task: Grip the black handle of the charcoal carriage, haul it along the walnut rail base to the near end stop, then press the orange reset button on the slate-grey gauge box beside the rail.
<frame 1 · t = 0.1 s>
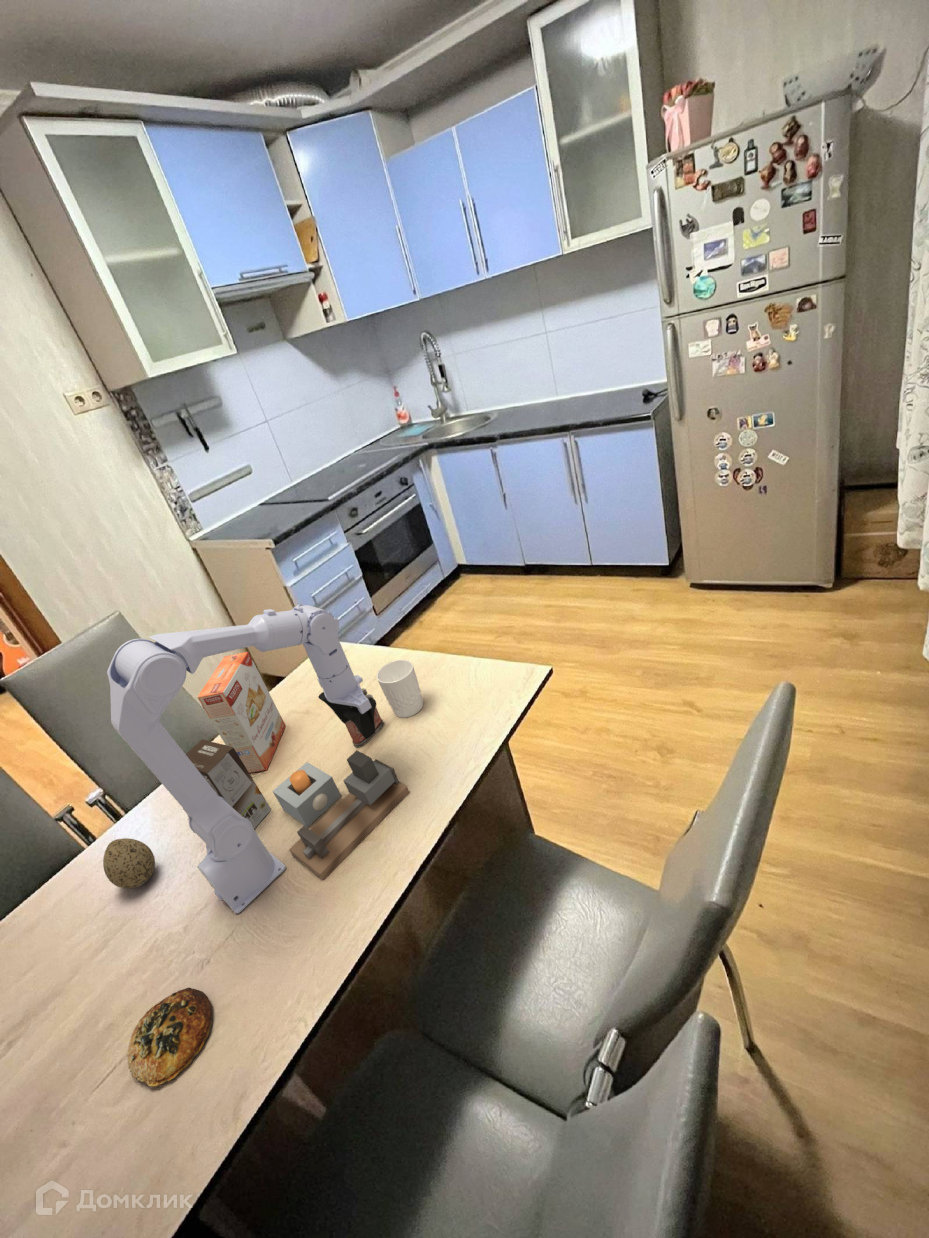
hand: (358, 727, 105), 10 cm above the table, tool pointing down, fingers open, 7 cm apart
coffee box: (245, 817, 107), on the table
bread roll: (174, 1039, 75), on the table
decorative egg: (143, 880, 100), on the table
rail: (352, 822, 99), on the table
carriage: (365, 772, 99), point 6 cm above the table, slide at 0.0 cm
white cup: (408, 708, 123), on the table
lighter: (369, 734, 119), on the table
gauge box: (312, 802, 106), on the table
cracker box: (266, 749, 123), on the table
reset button: (302, 784, 103), point 5 cm above the table, slide at 0.0 cm
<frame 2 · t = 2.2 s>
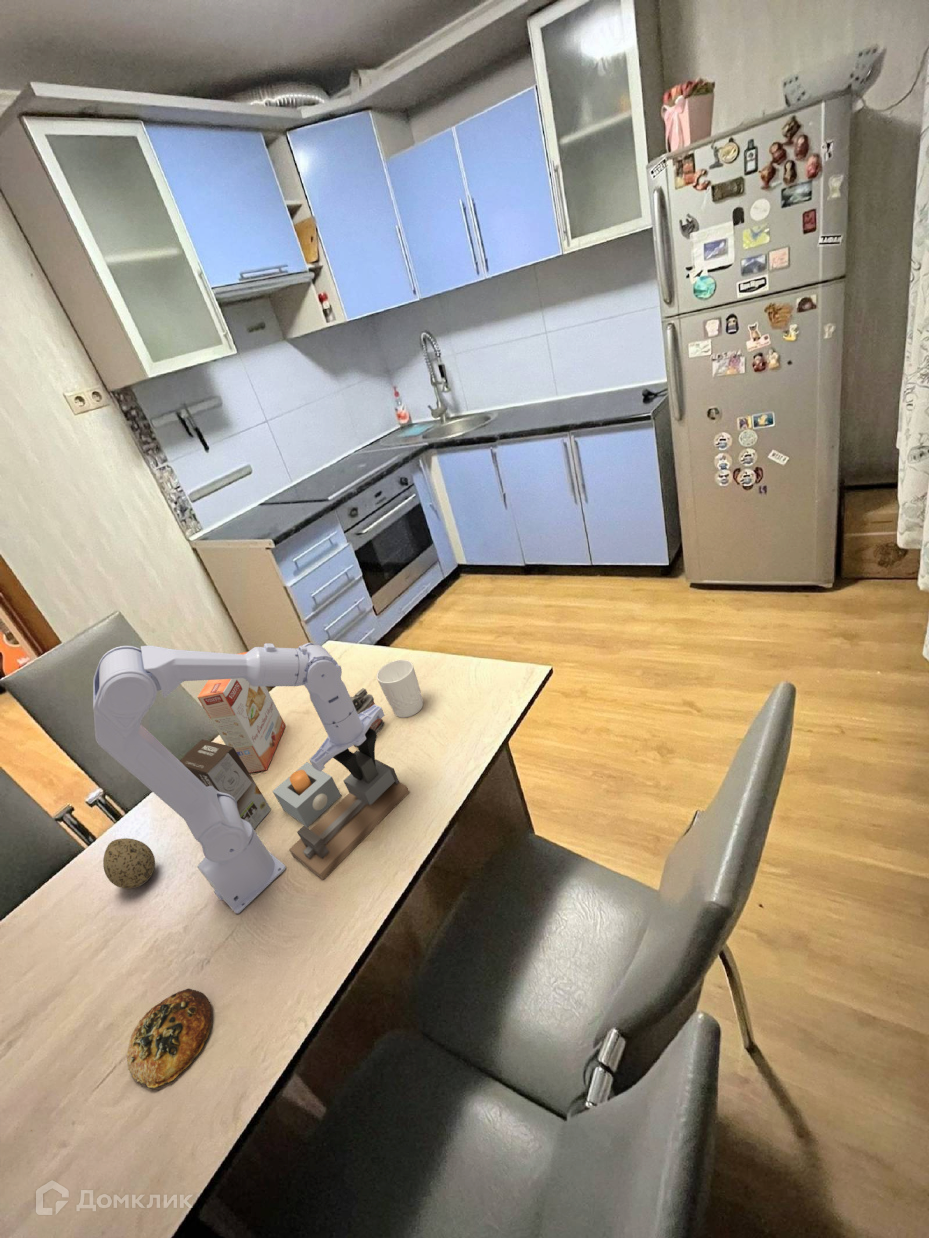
hand: (364, 771, 99), 7 cm above the table, tool pointing down, fingers closed on carriage, 2 cm apart
carriage: (365, 772, 99), point 6 cm above the table, slide at 0.0 cm, touching gripper
everything else where it was.
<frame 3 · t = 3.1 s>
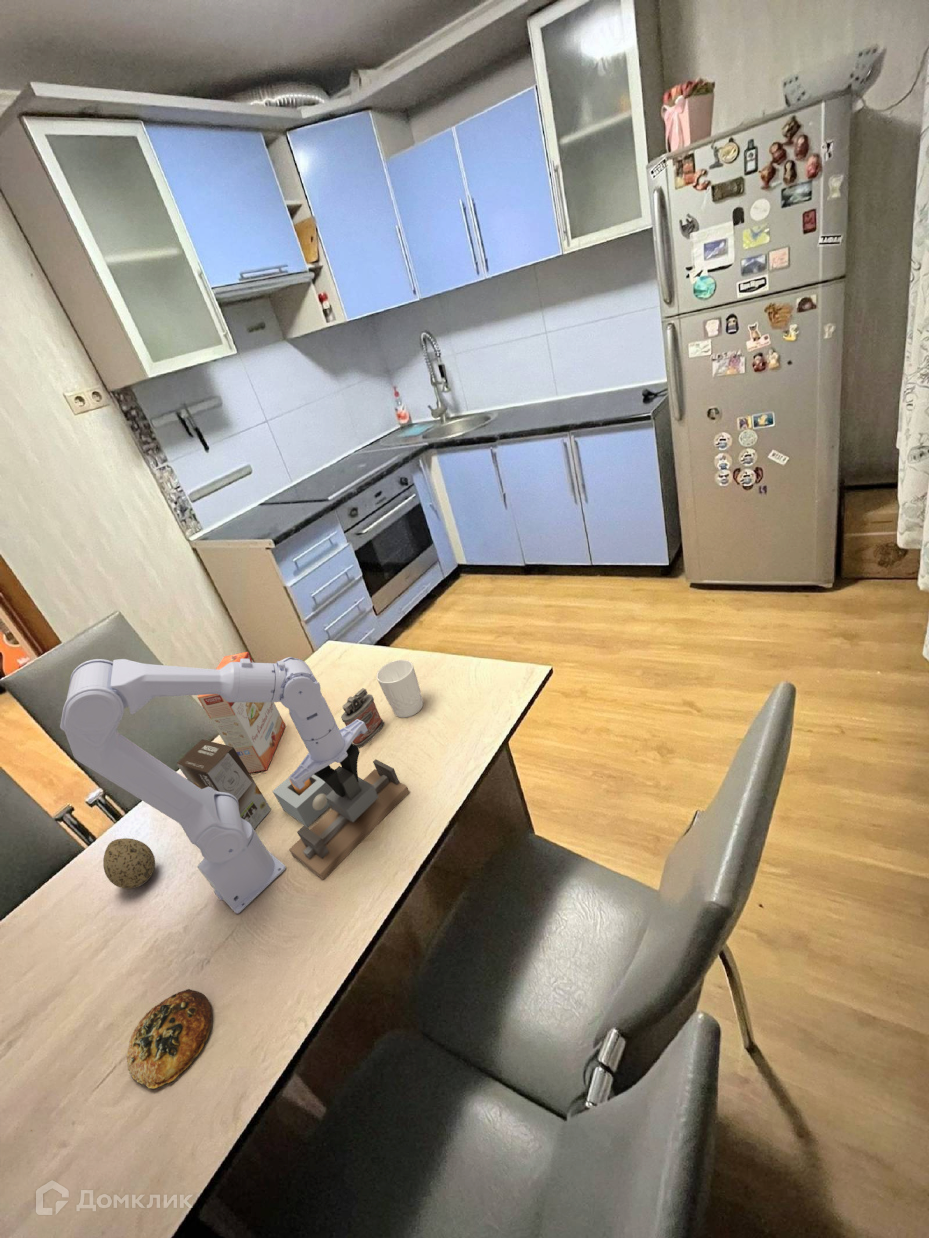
hand: (347, 787, 97), 7 cm above the table, tool pointing down, fingers closed on carriage, 2 cm apart
carriage: (348, 789, 97), point 6 cm above the table, slide at 4.1 cm, touching gripper
everything else where it was.
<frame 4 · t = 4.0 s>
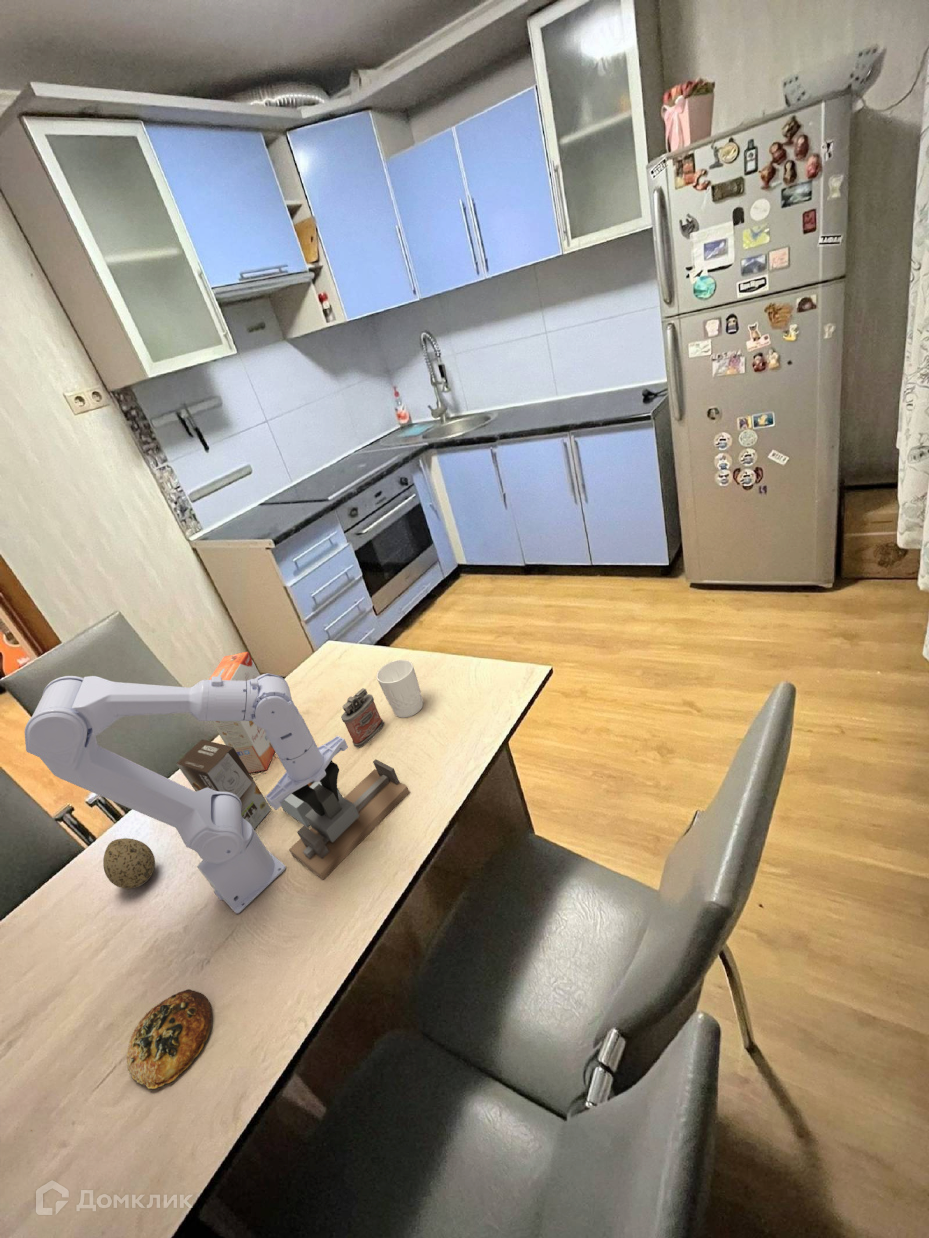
hand: (327, 806, 94), 7 cm above the table, tool pointing down, fingers closed on carriage, 2 cm apart
carriage: (328, 807, 94), point 6 cm above the table, slide at 8.5 cm, touching gripper
everything else where it was.
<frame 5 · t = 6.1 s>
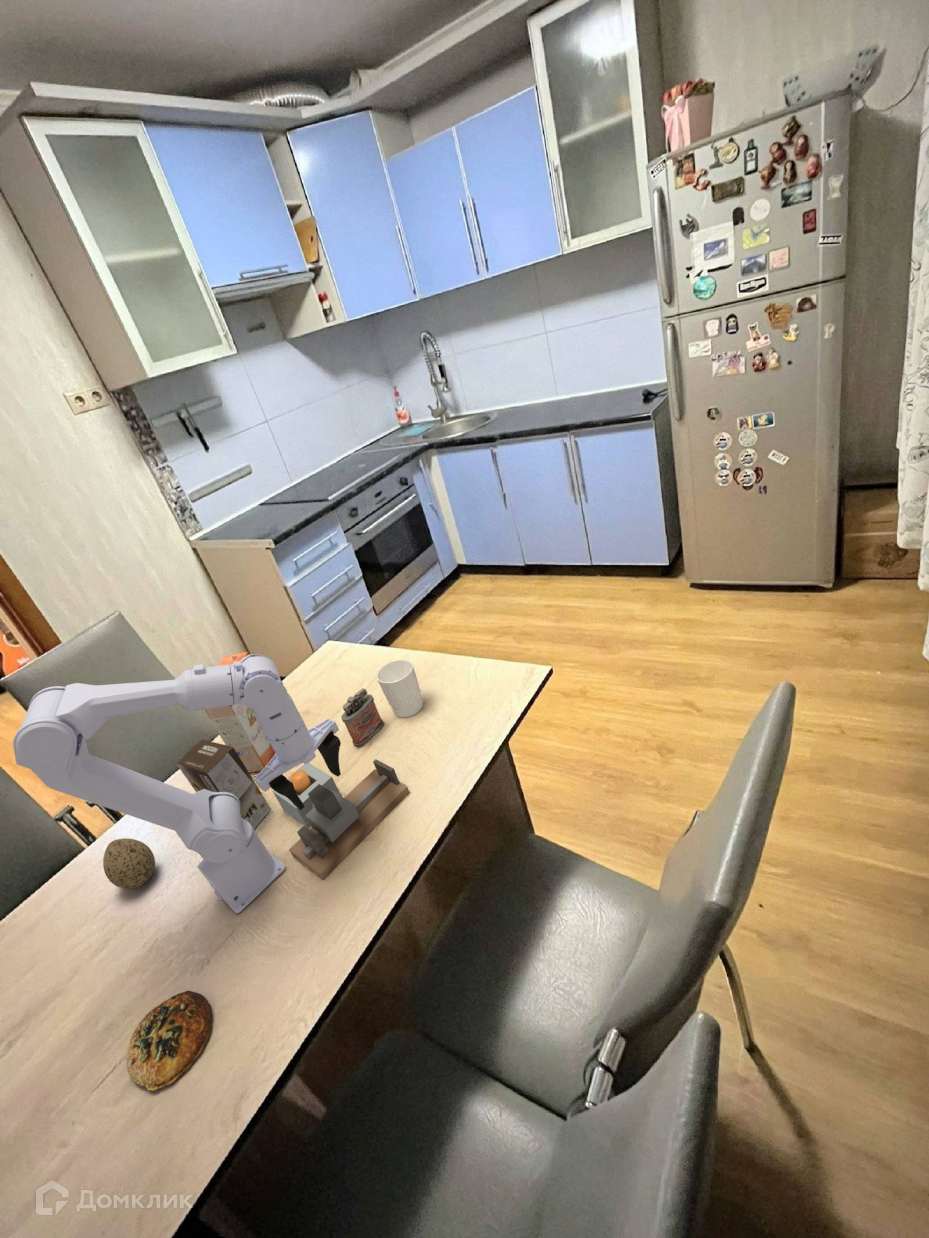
hand: (318, 789, 93), 10 cm above the table, tool pointing down, fingers open, 7 cm apart
carriage: (328, 807, 94), point 6 cm above the table, slide at 8.5 cm
everything else where it was.
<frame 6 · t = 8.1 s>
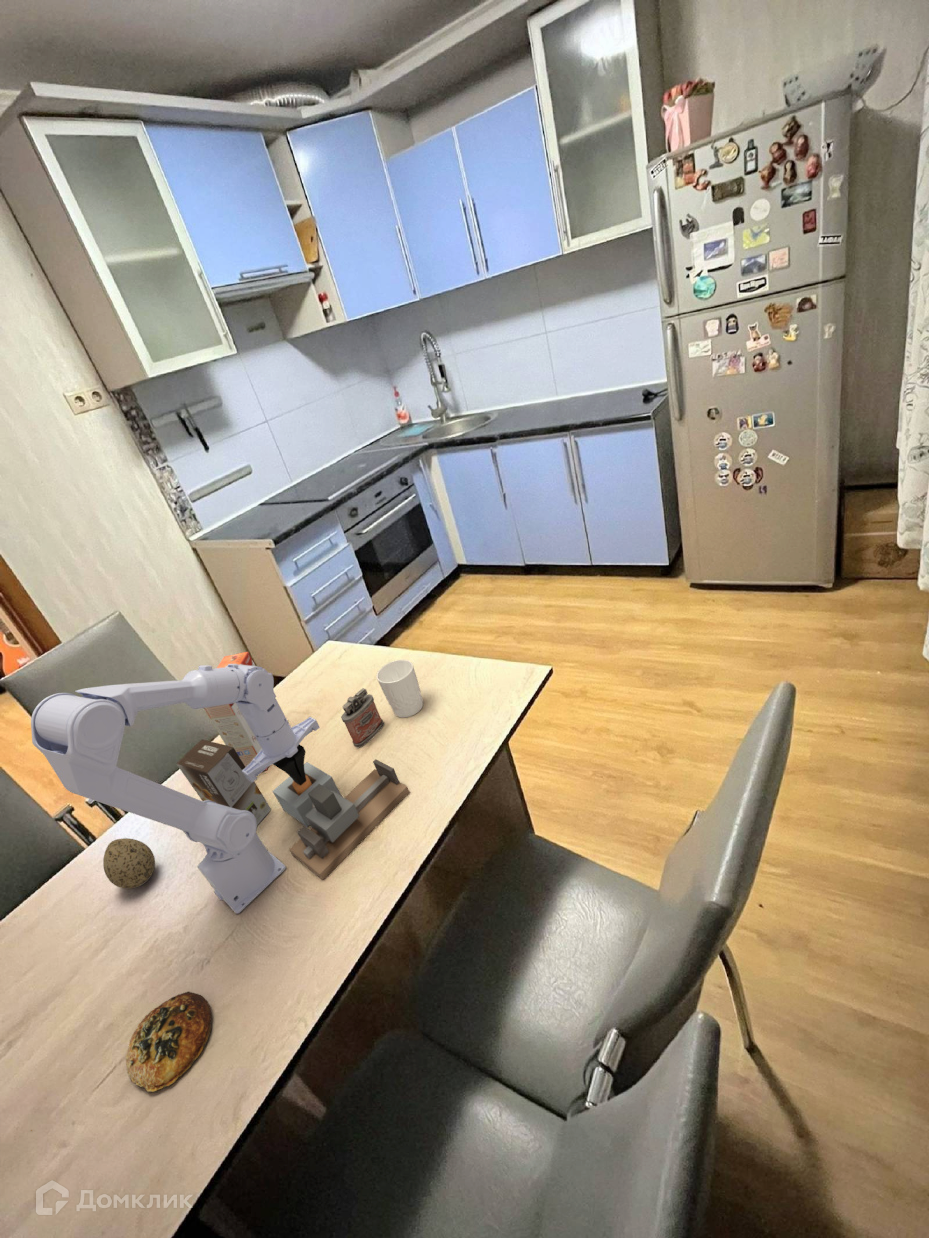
hand: (300, 781, 103), 6 cm above the table, tool pointing down, fingers closed, pressing on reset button
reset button: (305, 789, 104), point 3 cm above the table, slide at 1.3 cm, touching gripper
everything else where it was.
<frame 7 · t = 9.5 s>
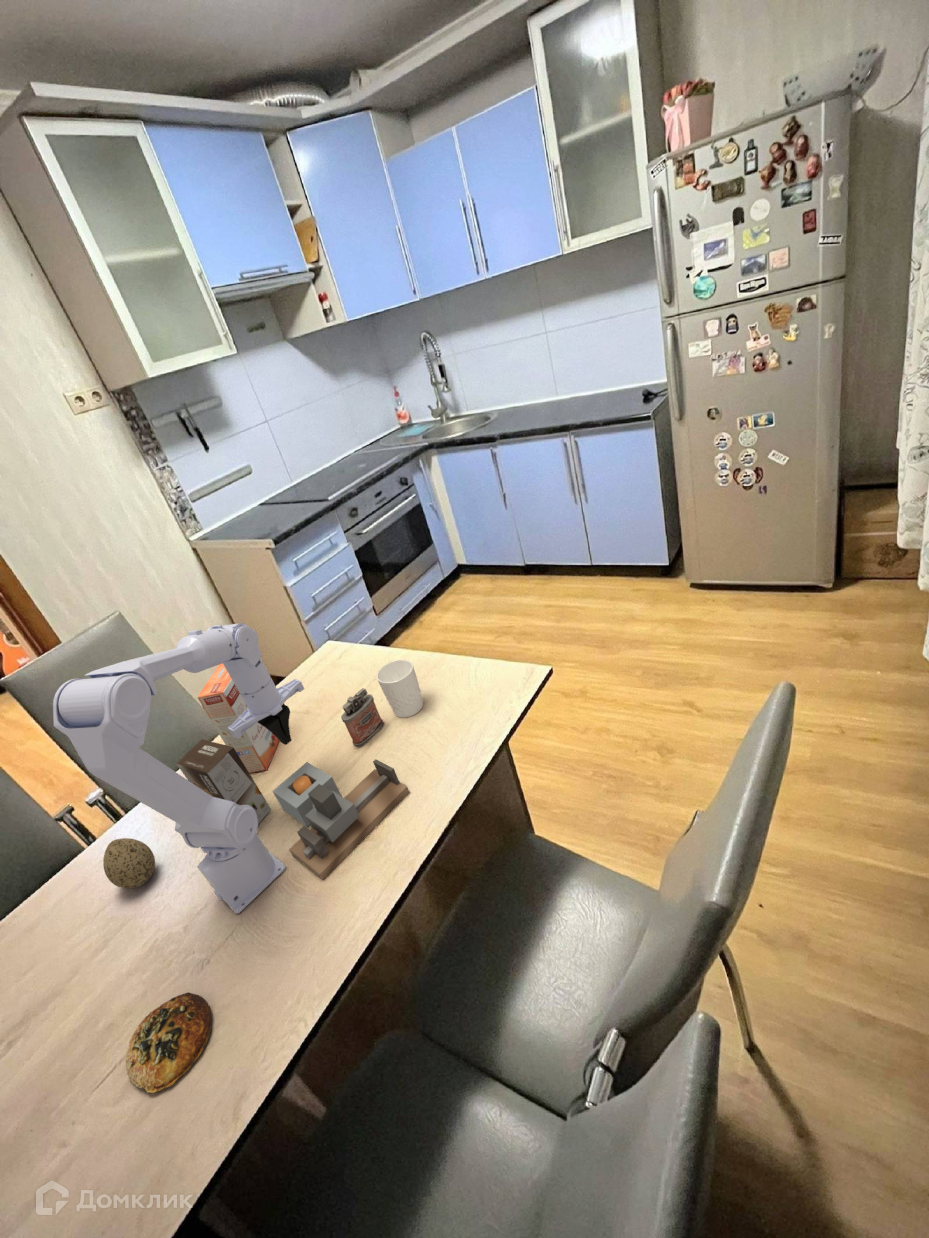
hand: (285, 741, 106), 10 cm above the table, tool pointing down, fingers closed
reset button: (305, 790, 104), point 3 cm above the table, slide at 1.5 cm
everything else where it was.
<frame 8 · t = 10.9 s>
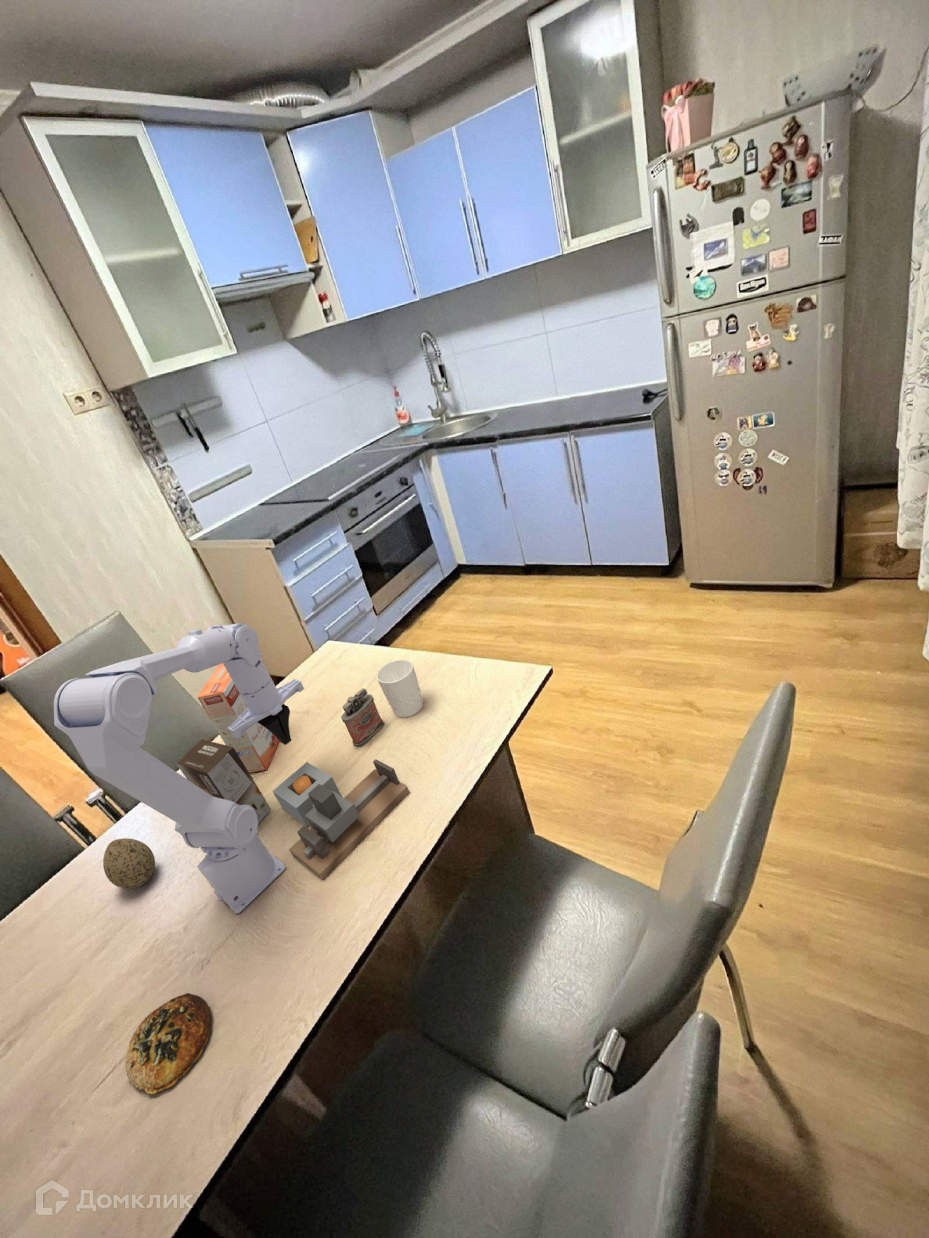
hand: (285, 741, 106), 10 cm above the table, tool pointing down, fingers closed
nothing on the table moved.
at the end: carriage slide at 8.5 cm; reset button slide at 1.5 cm; the gripper is holding nothing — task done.
